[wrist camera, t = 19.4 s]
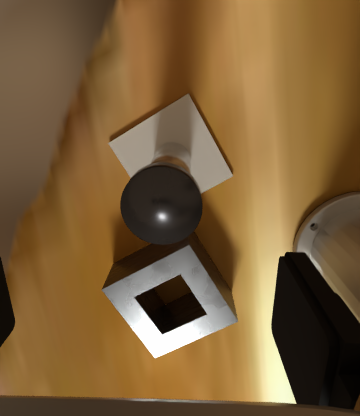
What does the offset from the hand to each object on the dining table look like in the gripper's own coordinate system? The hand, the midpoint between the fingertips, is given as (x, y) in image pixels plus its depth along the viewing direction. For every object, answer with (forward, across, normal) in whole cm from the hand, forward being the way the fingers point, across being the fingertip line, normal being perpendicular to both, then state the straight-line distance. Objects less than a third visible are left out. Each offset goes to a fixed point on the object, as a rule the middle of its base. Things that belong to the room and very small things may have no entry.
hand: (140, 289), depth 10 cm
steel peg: (+22, 0, 0) cm, 22 cm away
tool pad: (+22, 0, 0) cm, 22 cm away
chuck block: (+22, 0, +14) cm, 26 cm away
